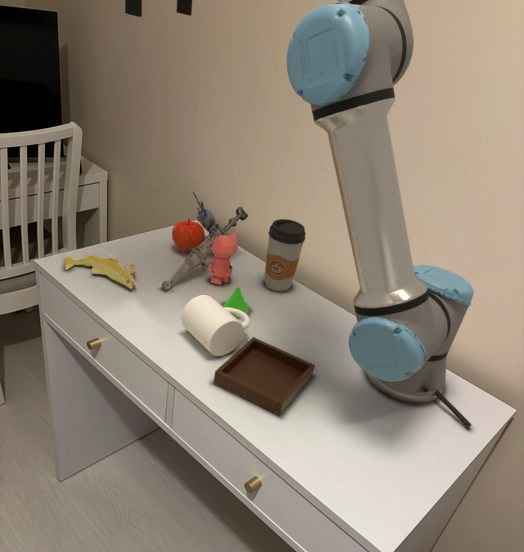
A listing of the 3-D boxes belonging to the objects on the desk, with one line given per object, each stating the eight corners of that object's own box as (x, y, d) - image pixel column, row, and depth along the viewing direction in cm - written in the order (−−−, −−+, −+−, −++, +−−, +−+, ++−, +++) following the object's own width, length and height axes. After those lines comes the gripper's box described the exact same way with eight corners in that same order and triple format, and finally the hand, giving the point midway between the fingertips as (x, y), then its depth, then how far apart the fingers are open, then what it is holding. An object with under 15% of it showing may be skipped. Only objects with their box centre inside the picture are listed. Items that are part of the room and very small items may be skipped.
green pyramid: (250, 318, 117) (254, 294, 113) (222, 316, 116) (225, 292, 112) (247, 302, 121) (251, 279, 118) (220, 301, 120) (223, 277, 117)
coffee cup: (254, 286, 127) (264, 227, 118) (267, 272, 134) (277, 214, 125) (287, 298, 126) (300, 238, 117) (299, 282, 132) (312, 225, 123)
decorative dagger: (170, 302, 122) (250, 225, 136) (175, 301, 121) (256, 223, 134) (150, 276, 120) (234, 200, 133) (155, 275, 118) (239, 197, 131)
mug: (207, 361, 103) (211, 326, 98) (179, 333, 109) (181, 299, 104) (257, 344, 110) (263, 310, 105) (228, 318, 115) (232, 285, 111)
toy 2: (220, 263, 141) (191, 216, 144) (233, 255, 142) (204, 209, 144) (215, 241, 127) (183, 190, 130) (230, 233, 127) (198, 182, 130)
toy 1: (91, 249, 129) (56, 269, 124) (88, 237, 127) (53, 257, 121) (152, 282, 121) (118, 305, 116) (150, 270, 119) (116, 293, 113)
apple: (173, 256, 133) (175, 226, 128) (169, 241, 139) (170, 211, 134) (206, 256, 135) (209, 227, 130) (200, 241, 141) (203, 212, 136)
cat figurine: (222, 270, 131) (228, 223, 124) (241, 283, 127) (248, 236, 120) (199, 277, 127) (203, 230, 119) (218, 291, 123) (224, 243, 116)
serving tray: (312, 376, 104) (315, 365, 102) (279, 416, 94) (282, 404, 92) (251, 348, 108) (253, 336, 107) (213, 383, 98) (214, 371, 97)
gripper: (193, -141, 90) (185, 9, 102) (83, -179, 71) (89, 10, 84) (232, -136, 87) (219, 17, 100) (128, -173, 69) (128, 20, 82)
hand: (160, 14), depth 92 cm, fingers open, 13 cm apart
